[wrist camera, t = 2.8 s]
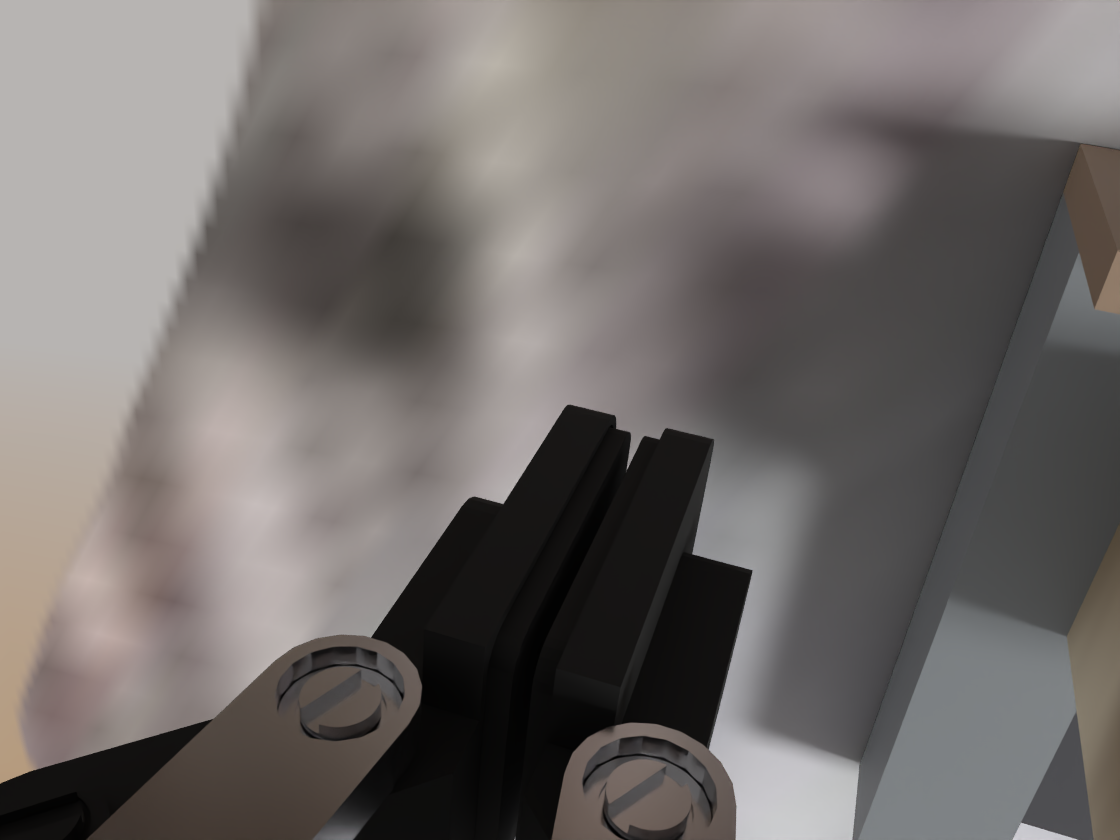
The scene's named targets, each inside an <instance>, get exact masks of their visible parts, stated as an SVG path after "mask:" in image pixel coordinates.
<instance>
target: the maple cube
mask: <svg viewBox="0 0 1120 840" xmlns="http://www.w3.org/2000/svg"><path fill="white" fill-rule="evenodd" d="M1067 642H1068V649H1069V657H1070V664H1071V672H1072V680H1073V687H1074V695H1075V702H1076V710H1077V717H1078V725H1079V733H1080V740H1081V748H1082V755H1083V763H1084V770H1085V778H1086V785H1087V793H1088V801H1089V808H1090V816H1091V823H1092V831H1093V838H1094V840H1120V523H1119V525H1118V528H1117V530H1116V532H1115V534H1114V536H1113V538H1112V540H1111V543H1110V545H1109V547H1108V549H1107V551H1106V553H1105V556H1104V558H1103V560H1102V562H1101V564H1100V566H1099V568H1098V571H1097V573H1096V575H1095V577H1094V579H1093V581H1092V583H1091V586H1090V588H1089V590H1088V592H1087V594H1086V596H1085V598H1084V601H1083V603H1082V605H1081V607H1080V609H1079V611H1078V613H1077V616H1076V618H1075V620H1074V622H1073V624H1072V626H1071V629H1070V631H1069V633H1068V635H1067Z"/></svg>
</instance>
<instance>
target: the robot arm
mask: <svg viewBox="0 0 1120 840" xmlns="http://www.w3.org/2000/svg"><path fill="white" fill-rule="evenodd" d="M630 441H631V434H630V432H627V431H622V430H618V429H616V417H615V415H610V414H606V413H602V412H598V411H594V410H590V409H586V408H581V407H577V406H573V405H567V406H566V407H565V408H564V410H563V411H562V413H561V414H560V416H559V418H558V419H557V421H556V422H555V424H554V425H553V427H552V429H551V430H550V432H549V433H548V435H547V437H546V438H545V440H544V441H543V443H542V444H541V446H540V448H539V449H538V451H537V452H536V454H535V455H534V457H533V459H532V460H531V462H530V463H529V465H528V466H527V468H526V470H525V471H524V473H523V474H522V476H521V477H520V479H519V481H518V482H517V484H516V485H515V487H514V488H513V490H512V492H511V493H510V495H509V496H508V498H507V499H506V501H505V503H504V504H501V503H497V502H493V501H489V500H486V499H482V498H478V497H472V498H469V499H468V500H467V501H466V502H465V503H464V505H463V506H462V507H461V508H460V510H459V511H458V513H457V514H456V516H455V517H454V519H453V520H452V521H451V523H450V524H449V526H448V527H447V529H446V530H445V532H444V533H443V534H442V536H441V537H440V539H439V540H438V542H437V543H436V545H435V546H434V547H433V549H432V550H431V552H430V553H429V555H428V556H427V558H426V559H425V560H424V562H423V563H422V565H421V566H420V568H419V569H418V571H417V572H416V573H415V575H414V576H413V578H412V579H411V581H410V582H409V584H408V585H407V586H406V588H405V589H404V591H403V592H402V594H401V595H400V597H399V598H398V599H397V601H396V602H395V604H394V605H393V607H392V608H391V610H390V611H389V612H388V614H387V615H386V617H385V618H384V620H383V621H382V623H381V624H380V625H379V627H378V628H377V630H376V631H375V633H374V634H373V636H372V637H371V638H370V637H366V636H356V635H335V636H329V637H322V638H316V639H314V640H311V641H309V642H306V643H304V644H301V645H298V646H296V647H294V648H292V649H291V650H289V651H288V652H287V653H285V654H284V655H282V656H281V657H280V658H278V659H277V660H275V661H274V662H273V663H272V664H271V665H270V666H269V667H268V668H267V669H266V670H265V671H264V672H263V673H262V674H261V675H259V676H258V677H257V678H256V679H255V680H254V681H253V682H252V683H251V684H250V685H249V686H248V687H247V688H246V689H245V690H244V691H243V692H242V693H240V694H239V695H238V696H237V697H236V698H235V699H234V700H233V701H232V702H231V703H230V704H229V705H228V706H227V707H226V708H225V709H224V710H223V711H221V712H220V713H219V714H218V715H217V716H216V717H215V718H214V719H212V720H208V721H205V722H201V723H198V724H194V725H191V726H187V727H184V728H180V729H177V730H173V731H170V732H166V733H163V734H159V735H156V736H152V737H149V738H145V739H142V740H138V741H135V742H131V743H128V744H124V745H121V746H118V747H114V748H111V749H107V750H104V751H100V752H97V753H93V754H90V755H86V756H83V757H79V758H76V759H72V760H69V761H65V762H62V763H58V764H55V765H51V766H48V767H44V768H41V769H37V770H34V771H30V772H28V773H25V774H23V775H21V776H18V777H15V778H13V779H10V780H8V781H6V782H3V783H1V784H0V840H514V839H515V840H735V838H736V802H735V796H734V790H733V784H732V782H731V780H730V778H729V776H728V774H727V772H726V771H725V769H724V767H723V765H722V763H721V762H720V761H719V760H718V759H717V758H716V757H715V756H714V755H713V754H712V753H711V752H710V751H709V746H710V742H711V738H712V734H713V730H714V726H715V722H716V718H717V714H718V710H719V706H720V702H721V698H722V694H723V690H724V686H725V682H726V678H727V674H728V670H729V666H730V662H731V658H732V654H733V650H734V646H735V642H736V638H737V634H738V630H739V625H740V621H741V617H742V613H743V609H744V605H745V601H746V596H747V592H748V588H749V584H750V580H751V575H752V570H749V569H745V568H741V567H738V566H734V565H730V564H726V563H723V562H719V561H715V560H711V559H707V558H704V557H700V556H696V555H692V552H693V547H694V542H695V537H696V532H697V527H698V522H699V517H700V512H701V507H702V502H703V497H704V492H705V487H706V482H707V477H708V472H709V467H710V462H711V457H712V452H713V445H714V439H710V438H706V437H702V436H697V435H693V434H689V433H685V432H681V431H677V430H673V429H668V428H666V429H665V430H664V432H663V434H662V436H661V438H660V440H659V439H655V438H651V437H647V436H644V437H643V439H642V440H641V442H640V445H639V447H638V449H637V451H636V453H635V455H634V457H633V459H632V461H631V463H630V465H629V467H628V469H627V462H628V456H629V449H630ZM626 469H627V471H626ZM515 837H516V838H515Z"/></svg>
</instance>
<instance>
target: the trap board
mask: <svg viewBox="0 0 1120 840" xmlns="http://www.w3.org/2000/svg"><path fill="white" fill-rule="evenodd" d="M1119 523H1120V150H1115V149H1109V148H1103V147H1098V146H1092V145H1086V144H1080V146H1079V149H1078V152H1077V155H1076V157H1075V160H1074V163H1073V166H1072V169H1071V172H1070V174H1069V177H1068V180H1067V183H1066V186H1065V188H1064V191H1063V194H1062V197H1061V200H1060V203H1059V205H1058V208H1057V211H1056V214H1055V217H1054V219H1053V222H1052V225H1051V228H1050V231H1049V233H1048V236H1047V239H1046V242H1045V245H1044V248H1043V250H1042V253H1041V256H1040V259H1039V262H1038V264H1037V267H1036V270H1035V273H1034V276H1033V279H1032V281H1031V284H1030V287H1029V290H1028V293H1027V295H1026V298H1025V301H1024V304H1023V307H1022V309H1021V312H1020V315H1019V318H1018V321H1017V324H1016V326H1015V329H1014V332H1013V335H1012V338H1011V340H1010V343H1009V346H1008V349H1007V352H1006V355H1005V357H1004V360H1003V363H1002V366H1001V369H1000V371H999V374H998V377H997V380H996V383H995V385H994V388H993V391H992V394H991V397H990V400H989V402H988V405H987V408H986V411H985V414H984V416H983V419H982V422H981V425H980V428H979V431H978V433H977V436H976V439H975V442H974V445H973V447H972V450H971V453H970V456H969V459H968V461H967V464H966V467H965V470H964V473H963V476H962V478H961V481H960V484H959V487H958V490H957V492H956V495H955V498H954V501H953V504H952V507H951V509H950V512H949V515H948V518H947V521H946V523H945V526H944V529H943V532H942V535H941V537H940V540H939V543H938V546H937V549H936V552H935V554H934V557H933V560H932V563H931V566H930V568H929V571H928V574H927V577H926V580H925V583H924V585H923V588H922V591H921V594H920V597H919V599H918V602H917V605H916V608H915V611H914V613H913V616H912V619H911V622H910V625H909V628H908V630H907V633H906V636H905V639H904V642H903V644H902V647H901V650H900V653H899V656H898V659H897V661H896V664H895V667H894V670H893V673H892V675H891V678H890V681H889V684H888V687H887V689H886V692H885V695H884V698H883V701H882V704H881V706H880V709H879V712H878V715H877V718H876V720H875V723H874V726H873V729H872V732H871V735H870V737H869V740H868V743H867V746H866V749H865V751H864V754H863V757H862V760H861V763H860V767H859V777H858V788H857V798H856V809H855V819H854V830H853V840H1012V839H1013V837H1014V835H1015V833H1016V831H1017V829H1018V827H1019V825H1020V823H1025V824H1028V825H1031V826H1035V827H1038V828H1041V829H1045V830H1048V831H1051V832H1055V833H1058V834H1061V835H1065V836H1068V837H1071V838H1075V839H1078V840H1094V838H1093V831H1092V823H1091V816H1090V808H1089V801H1088V793H1087V785H1086V778H1085V770H1084V763H1083V755H1082V748H1081V740H1080V733H1079V725H1078V717H1077V710H1076V702H1075V695H1074V687H1073V680H1072V672H1071V664H1070V657H1069V649H1068V642H1067V635H1068V633H1069V631H1070V629H1071V626H1072V624H1073V622H1074V620H1075V618H1076V616H1077V613H1078V611H1079V609H1080V607H1081V605H1082V603H1083V601H1084V598H1085V596H1086V594H1087V592H1088V590H1089V588H1090V586H1091V583H1092V581H1093V579H1094V577H1095V575H1096V573H1097V571H1098V568H1099V566H1100V564H1101V562H1102V560H1103V558H1104V556H1105V553H1106V551H1107V549H1108V547H1109V545H1110V543H1111V540H1112V538H1113V536H1114V534H1115V532H1116V530H1117V528H1118V525H1119Z"/></svg>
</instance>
